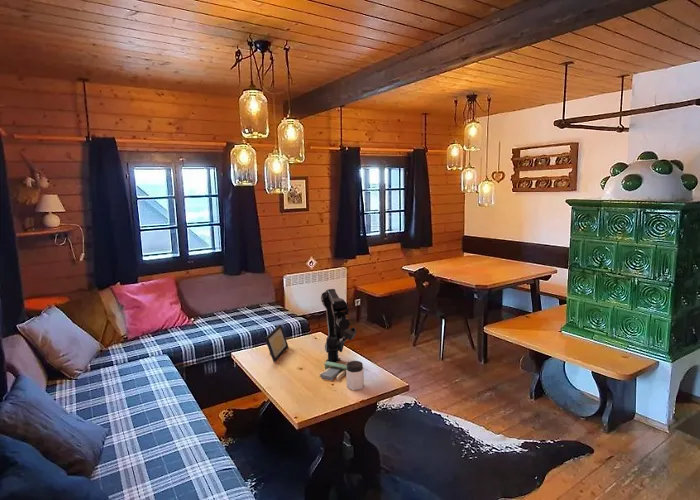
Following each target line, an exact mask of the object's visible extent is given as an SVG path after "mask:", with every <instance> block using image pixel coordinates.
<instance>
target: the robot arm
mask: <svg viewBox="0 0 700 500" xmlns="http://www.w3.org/2000/svg"><path fill="white" fill-rule="evenodd" d="M320 301H321V302H322V303H321V304H322V305H323V307H324V308H325V313H326V323H327V331H328V332H327V333H328V335H327V337H326V342H325V344H324V350H325V352H326V353H327V359H326V360H325V363H326V362H327V361H329V362H334V363H339V361H340V360H342V359H341V357H339V353H343V350H344V345H345V342H346V341H347V340H349V341H351V340H353V339H355V337H356V335H357V328H356V327H351V328H349V327H350V324H351V323H350V320H349V319H348V318H347V317H346V316H347V315H349V313H350V312H349V311H350V310H349V307H348V306H349V305H348V303H347V302H346V301H345V300H344V298H340V297H339V295H338V293H337V292H336V289H335V288H329V289H326V290H325V291H324V292H322V293H321V296H320Z"/></svg>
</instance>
